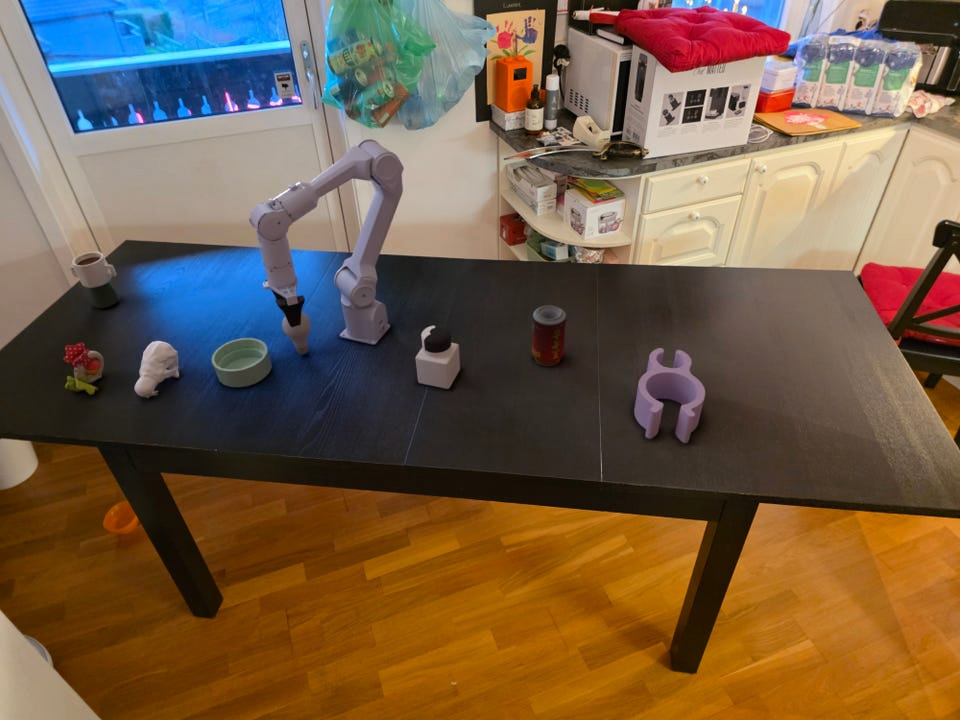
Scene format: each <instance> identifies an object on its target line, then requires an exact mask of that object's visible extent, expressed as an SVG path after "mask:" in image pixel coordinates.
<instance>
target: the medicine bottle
mask: <svg viewBox="0 0 960 720" xmlns="http://www.w3.org/2000/svg"><path fill="white" fill-rule="evenodd" d="M420 337H421V346H422V347H421V348H420V350H419V352H418V353H417V354H416V356H415V366H416V376H417V382H418V384H421V385H427V386H432V387H436V388H440V389H446V390H449V389H450V388H451V386H452V384H453V383H454V381H455V379H456V378H457V376H458V374H459V373H460V370H461V360H460V345H459V344H458V343H455V342H452V333H451V331H450V329H449V328H447V327H446V326H444V325H439V324H438V325H437V324H435V325H430V326H428V327H426V328H424V329H423V330H422V332H421V335H420Z"/></svg>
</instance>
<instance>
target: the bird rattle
mask: <svg viewBox="0 0 960 720" xmlns="http://www.w3.org/2000/svg"><path fill="white" fill-rule="evenodd" d="M64 349H65V352H66V354H65V356H64V357H63V358H62V359H63V361H64V362H65V363H67V364H72V366H73V375H74V377H72V376H71V375H68V376H67V377H66V380H67V382H66V384H65V385H64V388H65V389H66V390H70V391H75V392H81V391H83V390H85V391H86V393H88V394H89V395H94V394H95V392H96V391H99V388H98V387H97V386H94V385H92V384H91V383H93V382H95V381H97V380H98V379H101V378H102V377H103V375H102V373H103V371H104V367H105V360H104V357H103V355H102V353H100V352H98V351H96V350H90V349H86V345H85V344H84V342H78V343H76V344H75V345H70V344H67V345H65V347H64Z"/></svg>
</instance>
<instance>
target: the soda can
mask: <svg viewBox="0 0 960 720" xmlns="http://www.w3.org/2000/svg"><path fill="white" fill-rule="evenodd" d="M566 322H567V314H566V312H565V310H563V309H562V308H560V307H558V306H556V305H548V304H547V305H543V306H540V307H538V308H536V309H535V310H534V311H533V313H532V327H531V328H532V329H531V331H532V334H531V353H532V356H533V357H534V360H535V362H536V363H537V364H539V365H541V366H547V367H549V366H550V367H551V366H554V365H557V364H559V363H560V361H561V358H563V356H564V353H565V340H566V325H567V323H566Z"/></svg>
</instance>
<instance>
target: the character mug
mask: <svg viewBox="0 0 960 720" xmlns="http://www.w3.org/2000/svg"><path fill="white" fill-rule="evenodd" d="M69 270H70V272H71V274H72V275H73V277H75V278H78V279H79V281H80V283H81V285H82V286H83V287H85V288H88V292H89V295H90V299H91V302H92V304H93V306H94V307H95V308H98V309H105V308H109V307H111V306H113V305H116V303H118V302H119V301H120V300H121V297H120V295H119V293H118V292H117V290H116V288H115V286H114V285H113V284H112V282H111V280H112V278H116V276H117V272H116V269H115V266H114V265H113V264H109V263H108V262H107V260H106V257H105V256H104V253H102V252H100V251H87V252H85V253H82V254H79V255H77V256H75V257H74V258H73V259H72V261H71V264H70V265H69Z"/></svg>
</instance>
